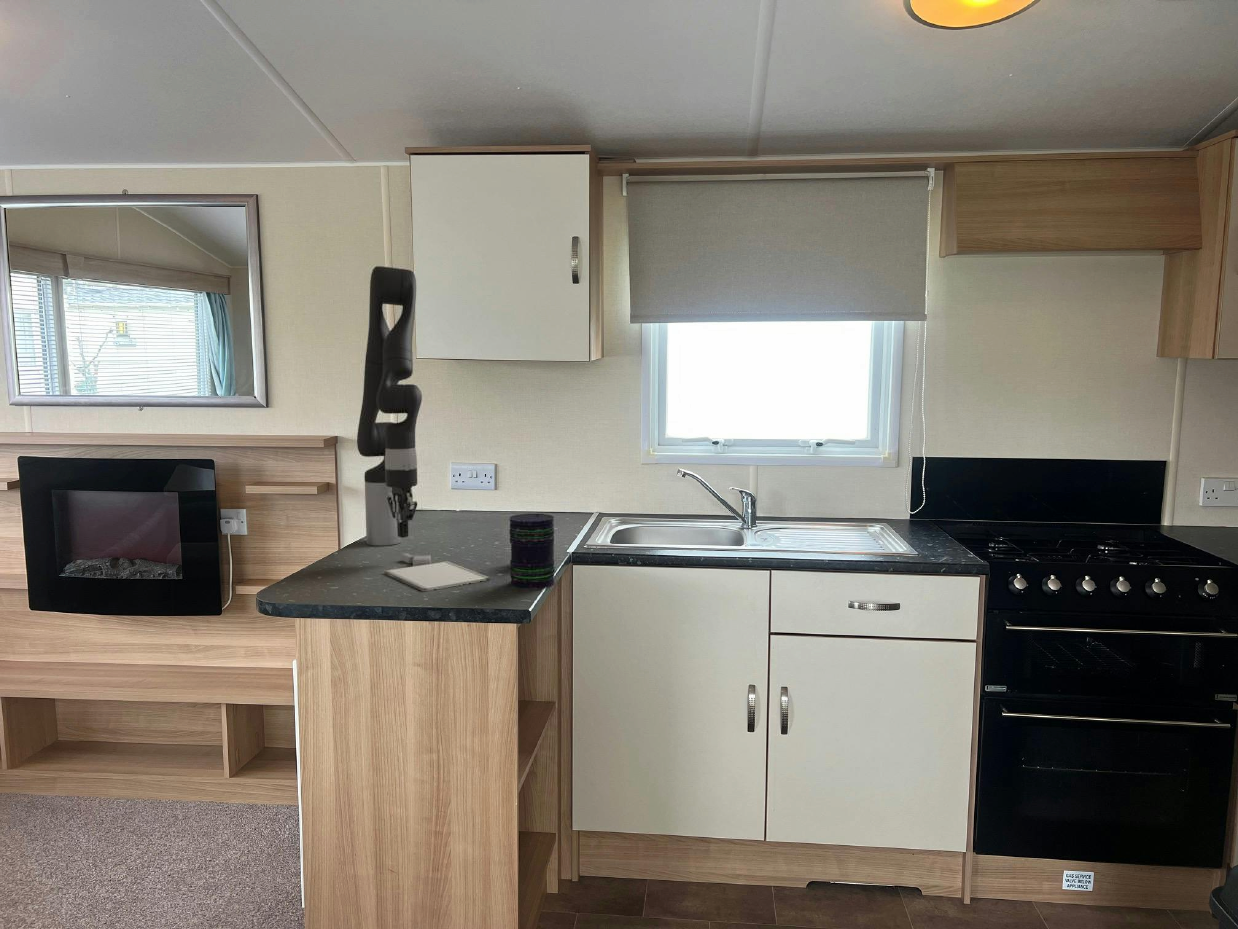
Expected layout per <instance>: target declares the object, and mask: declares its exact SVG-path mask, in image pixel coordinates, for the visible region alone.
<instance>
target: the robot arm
mask: <svg viewBox="0 0 1238 929" xmlns="http://www.w3.org/2000/svg"><path fill="white" fill-rule="evenodd" d="M416 301H417V278H416V275H415V273H414V272H413V270H410V269H405V268H398V267H391V266H382V265H377V266H375V267H373V269H372V272H371V274H370V281H369V308H368V310H369V318H368V331H367V332H368V333H367V341H366V342H367V343H366V351H365V358H364V359H365V361H364V373H363V376H364V377H363V390H362V392H363V394H362V402H361V409H360V413H359V414H360V416H359V422H358V425H357V426H358V427H357V434H356V443H357V445H356V446H357V451H358V453H359V454H360V456H362V457H366V458H367V457H368V458H371V457H372V458H373V457H374V458H375V457H383V460H382V461H381V462H380V463H378V464H377V465H375V466H373V467H371V468H368V469H367V470H366V471H365V472H364V499H365V500H364V502H365V528H366V529H365V536H366V537H365V538H366V540H365V541H366V544H367V545H370V546H380V547H383V546H391V545H397V544H400V543H402V539H403V538H408V537H409V522H411V521H412V520H413V518H414V517H415V516H414V515H415V512H416V511H417V508H418V501H417V500H415V501H414V500H413V499H414V496H413V491H412V488H413V487H415V486H418V459H417V451H416V450H417V449H416V426H417V421H418V420H417V419H418V416H419V412H420V408H421V404H422V401H423V395H422V391H421V390H420V388H419V386H418V385H415V384H409V383H407V384H399V382H400V381H404V380H407V379H410V378H411V377H412V375H413V373H414V367H413V366H414V362H413V360H414V359H413V336H414V334H413V333H414V326H415V314H416V303H417V302H416ZM383 305H393V306H402V309H401V314H400V315H399V317H398V319H397V321H396V322H395V324H394V326H393V327H391V330H390V328H389V325H388V323H387V320H386V318H385V315H384V311H383V310H384V308H383ZM379 412H381V413H382V414H386V415H387V414H391V415H392V414H393V415H394V414H395V415H396V414H406V417H405V419H403V420H402V421H399V422H392V421H388V422H387V421H385V422H377V418H378V415H379Z"/></svg>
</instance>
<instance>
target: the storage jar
mask: <svg viewBox="0 0 1238 929" xmlns="http://www.w3.org/2000/svg"><path fill="white" fill-rule="evenodd" d="M554 518H555V517H554V515H552V514H551V515H550V514H547V513H523V514H516V515H514V514H513V515H511V516H510V517H509V533H508V534H509V543H510V551H511V555H510V561H509V562H510V563H509V564H510V566H509V574H510V580H511V581H510V586H511V588H515V589H520V590H541V589H548V588H550V587H553V586H554V585H555V580H554V577H555V574H554V573H555V572H556V571H555V558H554V559H553V542H554V543H555V535H554V534H555V528H554V527H555V523H554Z"/></svg>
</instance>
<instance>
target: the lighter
mask: <svg viewBox="0 0 1238 929" xmlns="http://www.w3.org/2000/svg"><path fill="white" fill-rule="evenodd" d="M401 561H402V562H404V563H407V564H412V567H414V566H421V565H428V564H432V557H431V555H430V554H429V555H412V554H410V553H402V554H401Z"/></svg>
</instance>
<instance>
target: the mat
mask: <svg viewBox="0 0 1238 929" xmlns="http://www.w3.org/2000/svg"><path fill="white" fill-rule="evenodd" d="M384 574H385V575H387V576H390V577H391V578H393V579H396V580H398V581H400V582H402V583H404V584H406V585H409V586H411V587H413V588H415V589H417V590H419V591H420V592H429V591H435V590H434V589H436V590H440V589H446V588H452V587H453V586H454V587H458V586H459V585H460V586H464V585H463V584H465V585H470V584H469V583H471V584H476V583H481V582H480V581H483V582H487V581H488V580H489V581H490V576H487V575H484V574H481V573H479V572H477V571H474V570H472V569H468V568H466V567H463V566H460V565H459V564H455V563H453V562H451V561H447V560H445V561H442V562H436V563H431V564H428V565H421V566H414V567H413V566H409V567H401V568H394V569H385V570H384Z"/></svg>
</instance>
